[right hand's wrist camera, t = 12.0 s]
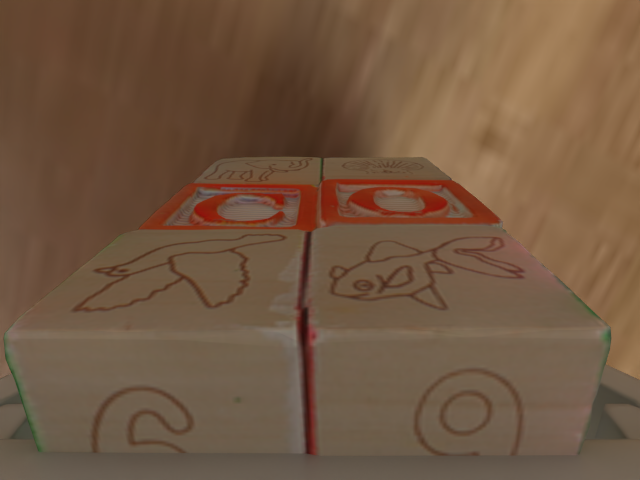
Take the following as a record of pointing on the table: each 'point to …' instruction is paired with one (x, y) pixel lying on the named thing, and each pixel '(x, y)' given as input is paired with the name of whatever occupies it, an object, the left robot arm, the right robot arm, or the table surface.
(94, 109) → the table surface
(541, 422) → the stack of blocks
